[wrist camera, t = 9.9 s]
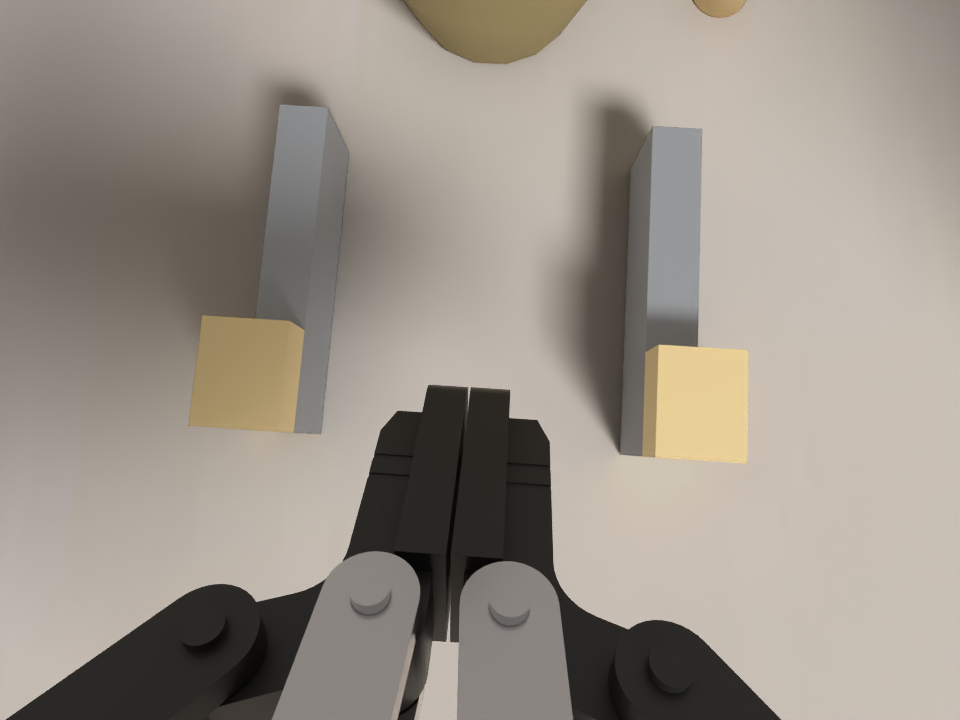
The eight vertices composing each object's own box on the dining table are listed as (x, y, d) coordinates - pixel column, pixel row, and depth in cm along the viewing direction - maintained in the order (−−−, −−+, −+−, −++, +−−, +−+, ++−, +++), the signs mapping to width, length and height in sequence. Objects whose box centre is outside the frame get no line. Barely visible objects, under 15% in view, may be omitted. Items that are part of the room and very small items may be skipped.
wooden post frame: (747, -31, 23) (837, -195, 17) (740, 462, 21) (843, 470, 15) (263, -57, 23) (187, -226, 18) (202, 426, 21) (91, 419, 15)
